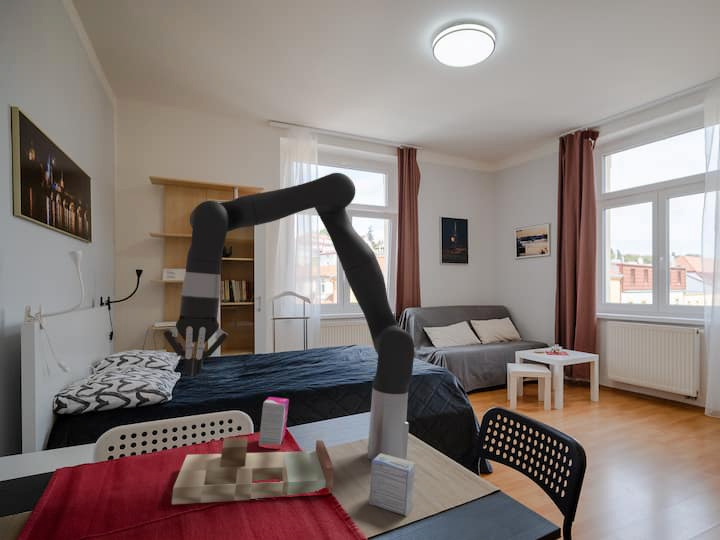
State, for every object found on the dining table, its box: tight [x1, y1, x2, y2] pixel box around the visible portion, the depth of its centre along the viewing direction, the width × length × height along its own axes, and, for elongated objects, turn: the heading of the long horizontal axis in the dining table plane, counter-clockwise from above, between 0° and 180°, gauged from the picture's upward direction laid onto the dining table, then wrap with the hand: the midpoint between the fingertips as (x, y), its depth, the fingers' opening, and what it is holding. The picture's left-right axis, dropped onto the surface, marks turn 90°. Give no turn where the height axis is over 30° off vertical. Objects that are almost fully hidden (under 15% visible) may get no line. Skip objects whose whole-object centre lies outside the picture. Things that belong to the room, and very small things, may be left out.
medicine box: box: [368, 453, 416, 517], centre depth 76 cm, size 8×4×9 cm, turn 65°
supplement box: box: [258, 396, 290, 445], centre depth 100 cm, size 6×6×12 cm
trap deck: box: [171, 439, 335, 505], centre depth 81 cm, size 30×14×6 cm, turn 105°
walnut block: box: [220, 437, 248, 467], centre depth 83 cm, size 5×5×4 cm
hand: (192, 376), depth 81 cm, fingers closed
